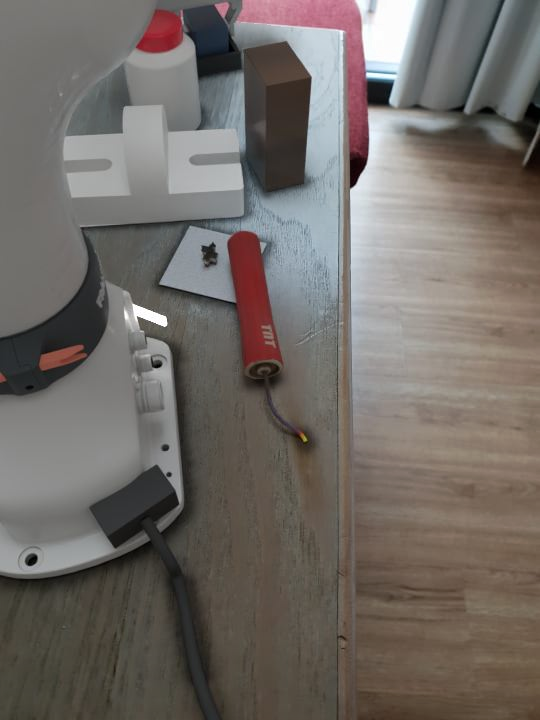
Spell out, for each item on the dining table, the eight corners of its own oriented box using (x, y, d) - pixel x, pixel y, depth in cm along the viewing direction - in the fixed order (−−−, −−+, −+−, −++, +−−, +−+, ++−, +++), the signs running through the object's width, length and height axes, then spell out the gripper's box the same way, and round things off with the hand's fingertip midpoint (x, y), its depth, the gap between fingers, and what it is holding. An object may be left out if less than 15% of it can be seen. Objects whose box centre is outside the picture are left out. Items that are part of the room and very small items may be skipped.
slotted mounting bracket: (71, 165, 66) (47, 89, 59) (237, 155, 67) (234, 80, 60) (64, 228, 61) (36, 153, 53) (244, 216, 62) (242, 141, 55)
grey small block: (241, 304, 55) (240, 290, 54) (158, 284, 56) (155, 270, 55) (266, 243, 60) (267, 229, 58) (189, 226, 61) (188, 211, 59)
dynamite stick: (219, 248, 57) (246, 446, 47) (235, 225, 55) (267, 427, 44) (261, 259, 59) (296, 450, 49) (278, 237, 57) (318, 433, 47)
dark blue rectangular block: (229, 58, 76) (227, 26, 73) (198, 64, 75) (195, 31, 72) (214, 34, 79) (213, 2, 76) (185, 39, 79) (182, 7, 75)
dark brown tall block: (304, 183, 65) (312, 76, 55) (265, 192, 64) (266, 85, 54) (282, 147, 68) (286, 40, 58) (245, 155, 67) (243, 48, 57)
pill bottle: (198, 141, 69) (189, 44, 59) (129, 139, 69) (109, 42, 59) (204, 100, 73) (196, 4, 64) (139, 98, 73) (122, 2, 64)
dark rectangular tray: (241, 69, 77) (241, 52, 75) (192, 78, 75) (191, 62, 74) (221, 35, 81) (220, 19, 79) (174, 43, 80) (172, 27, 78)
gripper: (105, -66, 61) (130, 67, 73) (295, -91, 65) (290, 38, 77) (93, -91, 64) (118, 40, 76) (275, -114, 69) (273, 13, 80)
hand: (206, 38), depth 76 cm, fingers closed on dark blue rectangular block, 4 cm apart
